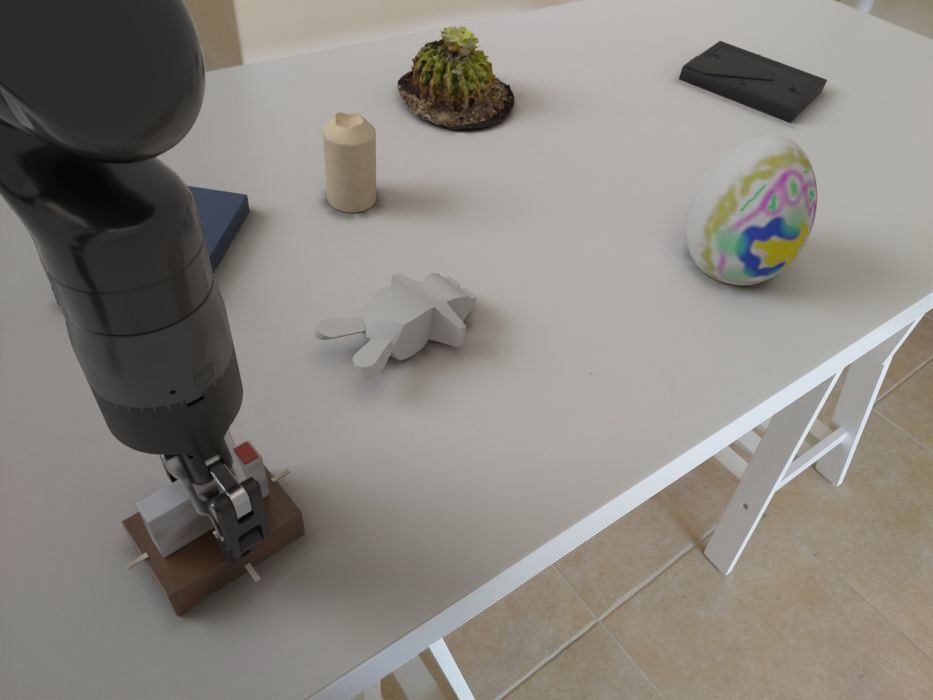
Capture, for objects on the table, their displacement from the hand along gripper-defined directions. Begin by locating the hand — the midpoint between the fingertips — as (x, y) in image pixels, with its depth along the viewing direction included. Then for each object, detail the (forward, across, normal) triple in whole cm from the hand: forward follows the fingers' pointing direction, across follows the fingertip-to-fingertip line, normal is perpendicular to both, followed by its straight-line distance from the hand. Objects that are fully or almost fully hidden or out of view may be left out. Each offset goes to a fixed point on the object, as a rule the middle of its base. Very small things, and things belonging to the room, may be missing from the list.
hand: (212, 512), depth 51 cm
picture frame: (+4, -19, +98) cm, 100 cm away
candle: (+4, -29, +32) cm, 43 cm away
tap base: (+4, 0, 0) cm, 4 cm away
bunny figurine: (+4, -8, +23) cm, 25 cm away
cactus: (+4, -40, +57) cm, 70 cm away
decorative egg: (+4, +4, +59) cm, 59 cm away
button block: (+4, -32, +11) cm, 34 cm away
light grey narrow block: (+1, 0, 0) cm, 1 cm away
